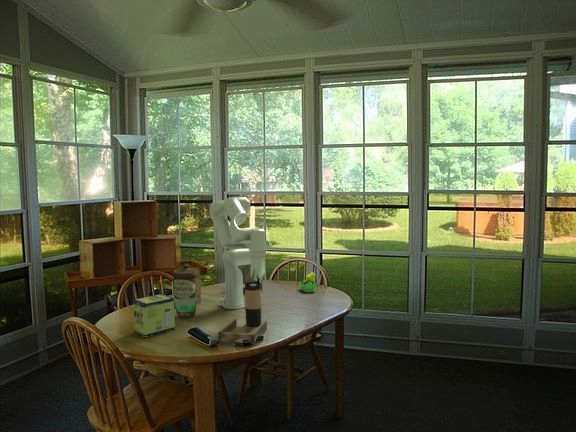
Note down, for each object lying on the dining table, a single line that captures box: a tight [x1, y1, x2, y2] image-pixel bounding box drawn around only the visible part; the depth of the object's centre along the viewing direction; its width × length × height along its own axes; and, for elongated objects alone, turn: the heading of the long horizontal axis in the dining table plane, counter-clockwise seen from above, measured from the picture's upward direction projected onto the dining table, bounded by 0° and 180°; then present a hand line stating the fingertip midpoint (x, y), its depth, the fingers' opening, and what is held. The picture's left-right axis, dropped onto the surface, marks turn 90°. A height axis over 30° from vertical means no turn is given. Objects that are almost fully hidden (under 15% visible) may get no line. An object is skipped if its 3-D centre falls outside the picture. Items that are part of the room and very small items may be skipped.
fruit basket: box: [298, 271, 317, 293], centre depth 293 cm, size 11×9×11 cm
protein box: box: [132, 293, 176, 337], centre depth 220 cm, size 10×16×16 cm
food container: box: [173, 296, 198, 320], centre depth 241 cm, size 12×6×10 cm, turn 105°
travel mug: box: [244, 282, 262, 328], centre depth 227 cm, size 8×8×20 cm
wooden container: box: [172, 263, 202, 305], centre depth 269 cm, size 15×15×22 cm
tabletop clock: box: [238, 264, 265, 285], centre depth 297 cm, size 14×9×25 cm, turn 58°
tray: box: [217, 318, 268, 345], centre depth 213 cm, size 16×20×4 cm
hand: (258, 291), depth 235 cm, fingers closed
